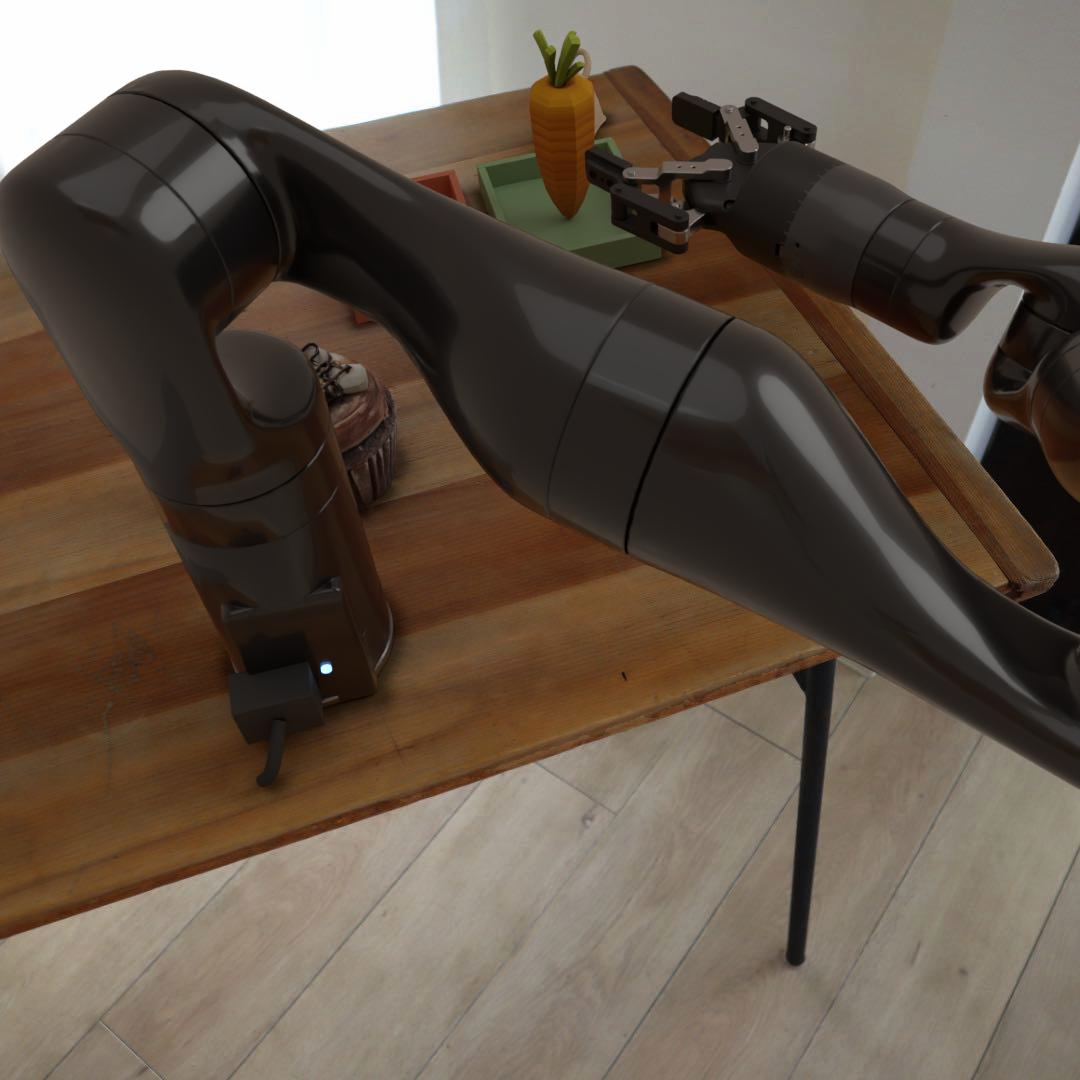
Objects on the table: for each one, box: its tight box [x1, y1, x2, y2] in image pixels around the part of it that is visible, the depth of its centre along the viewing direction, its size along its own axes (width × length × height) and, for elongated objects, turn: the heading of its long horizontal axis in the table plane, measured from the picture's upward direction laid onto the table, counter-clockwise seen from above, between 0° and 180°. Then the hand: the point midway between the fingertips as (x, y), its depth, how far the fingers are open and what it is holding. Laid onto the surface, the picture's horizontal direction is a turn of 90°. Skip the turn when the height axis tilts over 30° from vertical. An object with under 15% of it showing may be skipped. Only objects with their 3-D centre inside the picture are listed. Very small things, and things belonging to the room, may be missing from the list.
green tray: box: [476, 136, 662, 269], centre depth 91 cm, size 13×11×2 cm
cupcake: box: [299, 342, 398, 512], centre depth 73 cm, size 10×10×10 cm
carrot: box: [529, 28, 596, 219], centre depth 86 cm, size 5×5×15 cm
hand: (632, 133), depth 80 cm, fingers open, 8 cm apart
